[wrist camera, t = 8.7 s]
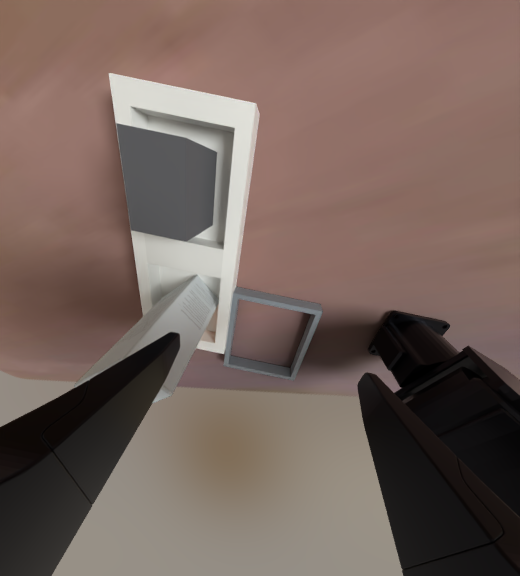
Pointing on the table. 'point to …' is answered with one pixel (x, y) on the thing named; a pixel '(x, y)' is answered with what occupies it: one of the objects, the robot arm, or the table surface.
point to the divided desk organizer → (227, 202)
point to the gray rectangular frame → (277, 302)
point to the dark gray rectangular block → (167, 183)
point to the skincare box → (166, 331)
